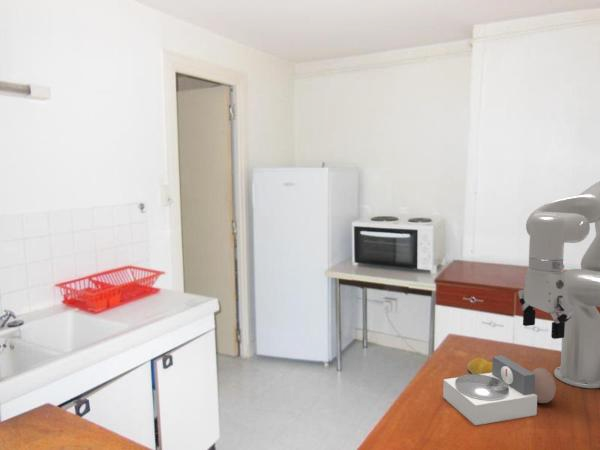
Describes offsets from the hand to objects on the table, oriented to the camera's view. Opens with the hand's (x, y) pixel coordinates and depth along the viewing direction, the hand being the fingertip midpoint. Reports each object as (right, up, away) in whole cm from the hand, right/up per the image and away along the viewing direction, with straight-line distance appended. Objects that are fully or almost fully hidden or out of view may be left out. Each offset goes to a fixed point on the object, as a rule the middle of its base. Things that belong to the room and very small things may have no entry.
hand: (542, 331), depth 115 cm
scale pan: (-16, -14, 0) cm, 21 cm away
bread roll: (-7, -17, +20) cm, 27 cm away
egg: (+1, -19, +2) cm, 19 cm away
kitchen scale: (-13, -19, +1) cm, 23 cm away
